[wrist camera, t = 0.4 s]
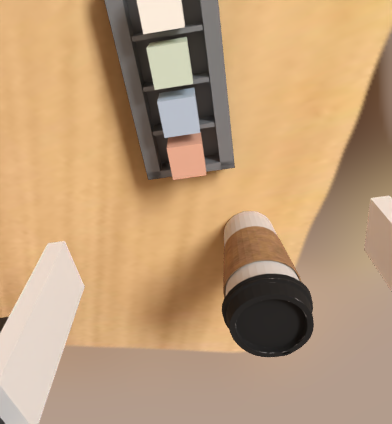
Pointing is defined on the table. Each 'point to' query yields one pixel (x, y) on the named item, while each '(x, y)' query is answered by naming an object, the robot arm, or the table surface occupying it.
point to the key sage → (170, 63)
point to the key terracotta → (186, 156)
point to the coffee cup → (263, 289)
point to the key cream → (160, 15)
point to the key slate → (178, 112)
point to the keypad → (202, 83)
